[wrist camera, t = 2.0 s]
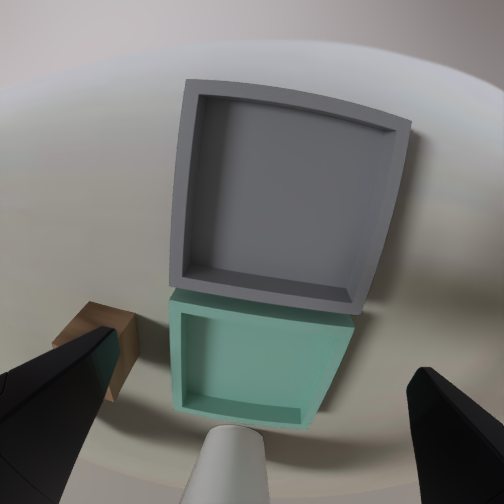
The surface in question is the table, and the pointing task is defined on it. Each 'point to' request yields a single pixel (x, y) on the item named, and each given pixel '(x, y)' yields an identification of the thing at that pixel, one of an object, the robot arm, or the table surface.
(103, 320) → the walnut block
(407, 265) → the table surface
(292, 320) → the tray
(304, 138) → the tray
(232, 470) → the foam cup
